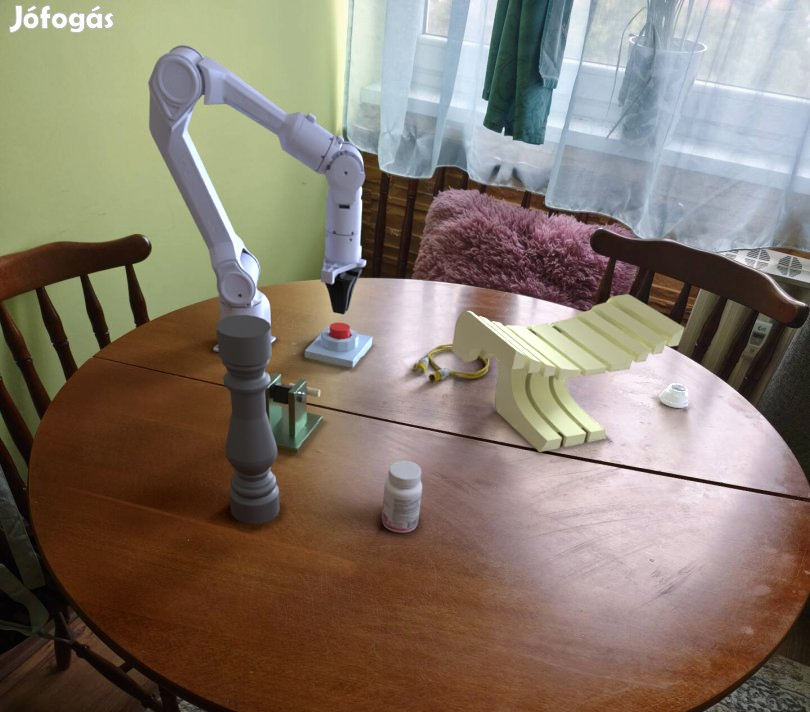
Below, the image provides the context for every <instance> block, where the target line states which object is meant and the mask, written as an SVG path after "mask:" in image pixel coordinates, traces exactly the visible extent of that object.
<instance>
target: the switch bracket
mask: <svg viewBox="0 0 810 712" xmlns="http://www.w3.org/2000/svg"><path fill="white" fill-rule="evenodd" d="M281 376H282V375H281V373H277V372H274V373H273V374H272V375H270V379H271V383H270V385H269V387H268V388H267V389H266V390H265V402H266V413H267V416H268V420H269V423H270V426H271V430H272V433H273V436H274V439H275V442H276V446H277V450H278V449H279V450H281V451H286V452H291V453H295V454H298V453H299V452H300V451H301V449H302V448H303V447H304V445H305V444H306V443H307V441H308V440H309V439H310V437H312V435H313V433H314V432H315V431H316V430H317V428H318V427H319V426H320V425H321V423H322V422H323V418H324V417H323V415H321V414H316V413H312V412H308V411H307V395H306V387H307V379H304V378H299V379H298V381H296V382H295V383H294V384H295V385H294V386H293V387H292V388H291V389H290V391H289V392H288V402H289V404H288V407H286V406H282V403H278V402H273V396H274V389H275V385H277V384H282V377H281Z"/></svg>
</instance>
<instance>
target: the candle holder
mask: <svg viewBox="0 0 810 712" xmlns="http://www.w3.org/2000/svg"><path fill="white" fill-rule="evenodd" d="M271 326H272V325H271ZM271 326H270V323H269V322H267V321H266V320H265V319H262V318H259V317H256V316H250V315H235V316H230V317H226V318H223V319H219V320H218V321H217V322H216V324H215V329H216V338H217V339H216V341H217V345H218V351H219V352H218V357H219V358H220V359H221V364H222V365H223V366H224V368H225V369H226V371H227V372H225V374H224V375H223V377H222V382H223V385H224V387H225V388H226V389H227V391H229V393H230V402H231V403H230V404H231V415H230V420H229V425H228V431H227V436H226V442H225V448H224V449H225V457H226V459H227V462H228V463H229V464H230V466H231V467H233V469H234V473H233V474H232V476H231V478H230V479H229V483H230V488H229V489H228V494H229V506H230V513H231V516H232V517H233V518H234V519H235V520H237V521H239V522H241V523H243V524H248V525H249V524H250V525H260V524H261V525H262V524H265V523H267V522H270V521H272V520H273V519H274V518H276V517H277V516H278V514H279V512H280V509H281V508H280V507H281V506H280V490H279V486H278V481H277V478H276V477H277V476H276V475H275V474H274V473H273V472H272V471H271V470H272V466H273V465H274V463H275V461H276V460H277V457H278V448H277V446H276V442H275V439H274V436H273V433H272V430H271V426H270V423H269V420H268V416H267V413H266V402H265V390H266V389H267V388H268V387H269V385H270V383H271V379H270V377H271V375H270V374H269V373H268V372H266V369H267V368H268V367H267V366H268V365H269V364H270V359H271V358H272V356H273V352H272V349H273V348H272V347H273V345H272V343H271V336H272V327H271Z"/></svg>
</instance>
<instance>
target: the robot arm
mask: <svg viewBox="0 0 810 712" xmlns="http://www.w3.org/2000/svg"><path fill="white" fill-rule="evenodd" d="M147 85H148V90H149V107H148V108H149V109H148V113H149V114H148V115H149V116H148V128H149V132H150V135H151V137H152V139H153V141H154V143H155V145H156V147H157V149H158V151H159V153H160V155H161V157H162V159H163V161H164V163H165V166H166V167H167V169H168V171H169V174H170V175H171V177H172V179H173V181H174V183H175V185H176V187H177V189H178V191H179V193H180V195H181V198H182V200H183V202H184V203H185V205H186V207H187V210H188V211H189V214H190V215H191V217H192V220H193V221H194V224H195V225H196V228H197V229H198V232H199V233H200V235H201V237H202V239H203V242H204V243H205V245H206V247H207V249H208V253H209V259H210V263H211V264H210V265H211V269H212V270H213V272H214V274H215V278H216V291H217V292H218V294H217V297H218V305H219V307H218V308H219V317H220V318H219V320H221V319H223V318H226V317H230V316H235V315H250V316H256V317H259V318H262V319H265V320H266V321H267V322H269V323H270V326H272V323H271V321H272V319H271V304H270V302H269V301H270V300H268V297H267V296H266V295H265V294H264V293H263V292H261V291H260V290H259V289H258V288H257V287H258V285H257V284H258V280H259V278H260V275H261V266H260V262H259V261H258V259H257V258H256V256H254V255H253V254H252V253H251V252H250V251H249V250H248V249H247V248H246V246H245V243H244V241H243V240H242V239H241V237H240V236H239V235H237V234H236V232H235V230H234V228H233V225H232V224H231V221H230V219H229V217H228V215H227V212H226V210H225V209H224V206H223V204H222V202H221V200H220V198H219V196H218V193H217V191H216V189H215V187H214V185H213V183H212V181H211V179H210V176H209V174H208V172H207V170H206V168H205V165H204V163H203V161H202V158H201V157H200V154H199V153H198V151H197V148H196V146H195V144H194V142H193V140H192V137H191V136H190V134H189V130H188V129H189V125H190V121H191V119H192V117H193V116H192V115H193V113H194V107H195V105H196V104H197V102H198V101H199V100H200V99H201V98H202V96H204V97H203V105H204V106H211V105H212V106H214V105H227V106H228V107H231V108H233V109H234V110H236V111H237V112H239V113H240V114H242V115H243V116H245V117H247V118H249V119H250V120H252V121H253V122H255V123H256V124H258V125H260V126H262V127H263V128H265V129H266V130H268V131H270V132H271V133H272V134H274V135H276V136H277V138H278V141H279V144H280V148H281V150H282V151H284V152H285V153H287V154H288V155H290V156H291V157H293V158H294V159H296V160H298V162H300V163H302V164H303V165H304V166H306V167H308V168H309V169H310V170H312V171H313V172H315V173H317V174H318V175H324V176H325V178H326V182H327V196H326V198H325V227H324V228H325V229H324V230H325V233H324V234H325V235H324V255H323V263H322V264H323V265H322V268H321V269H320V283H322V284H323V283H324V284H325V287H326V289H327V292H328V297H329V300H330V305H331V309H332V312H333V313H334V314H340V315H345V314H346V313H347V312H348V311H349V309H350V305H351V301H352V297H353V293H354V289H355V286H356V284H357V281H358V280H359V277H360V276H361V274H362V272H363V269H362V268H365V267H366V265H367V260H366V259H362V249H363V248H362V245H361V234H362V233H361V231H362V214H363V200H362V199H361V198H362V196H363V187H362V186H363V185H364V182H365V179H366V173H365V167H364V166H365V165H364V161H363V156H362V155H361V152H360V151H359V150H358V149H357V148H356V147H355V146H354V144H353V143H352V142H350V141H345V140H344V137H343V136H341V135H340V134H337V136H335V135H334V134H332V132H330V131H328V130H327V129H325V128H324V127H323V126H321V125H320V124H319V123H317V122H316V120H317V116H315V115H314V114H313V113H310V112H308V113H307V114H304V113H303V112H302V111H296V112H292V113H287V112H285V111H284V110H283V109H281V108H280V107H279V106H277V105H276V104H275V103H273V102H272V101H271V100H269V99H268V98H267V97H265V96H264V95H263V94H262V93H260V92H259V91H257V90H256V88H254V87H252V86H251V85H249V84H248V83H247V82H245V80H243V79H242V78H241V77H239V76H238V75H237V74H235V73H234V72H232V71H231V70H229V68H227V67H225V66H224V65H222V64H221V63H220V62H218V61H217V60H215V59H214V58H211V57H209V56H207V55H206V56H203V55H202V53H201V52H200V51H199V50H197V49H196V48H194V47H193V46H190V45H186V44H185V45H183V44H182V45H177V46H174V47H172V49H170V50H169V52H167V53H165V54H162V55H161V56H160V57H159V58H158V59H157V60H156V62H155V65H154V67H153V69H152V71H151V75H150V77H149V79H148V82H147ZM276 339H277V337H276V336H274V335H271V344H272V343H273V342H274V341H276ZM212 349H213V352H215V353H219V351H218V344H216V345H215V346H214V347H213V348H212Z"/></svg>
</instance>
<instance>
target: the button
mask: <svg viewBox="0 0 810 712" xmlns="http://www.w3.org/2000/svg"><path fill="white" fill-rule="evenodd" d="M329 327H330V337H332V338H335V339H347V338H349V337H350V328H351V326H350V325H349V324H348V323H345V322H333V323H331V324H330V325H329Z"/></svg>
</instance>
